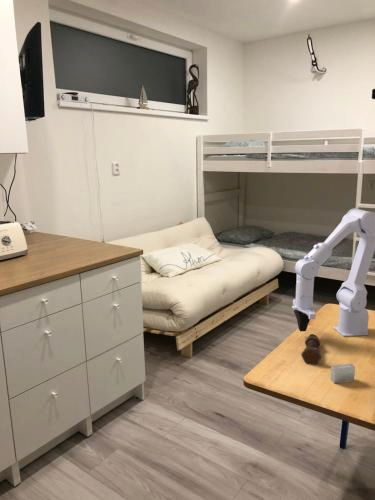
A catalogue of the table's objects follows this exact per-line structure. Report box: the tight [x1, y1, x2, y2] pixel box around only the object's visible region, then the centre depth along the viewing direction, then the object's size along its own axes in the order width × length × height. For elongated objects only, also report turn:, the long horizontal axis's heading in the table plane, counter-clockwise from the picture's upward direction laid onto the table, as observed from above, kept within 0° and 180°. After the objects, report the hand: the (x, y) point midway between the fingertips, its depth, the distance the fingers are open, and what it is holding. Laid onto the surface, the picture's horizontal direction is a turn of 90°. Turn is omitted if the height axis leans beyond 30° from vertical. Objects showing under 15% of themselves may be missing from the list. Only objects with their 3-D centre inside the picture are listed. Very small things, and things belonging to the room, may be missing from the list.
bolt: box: [300, 333, 322, 365], centre depth 132 cm, size 6×5×15 cm
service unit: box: [330, 363, 356, 384], centre depth 116 cm, size 6×2×4 cm, turn 98°
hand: (302, 330), depth 143 cm, fingers closed
